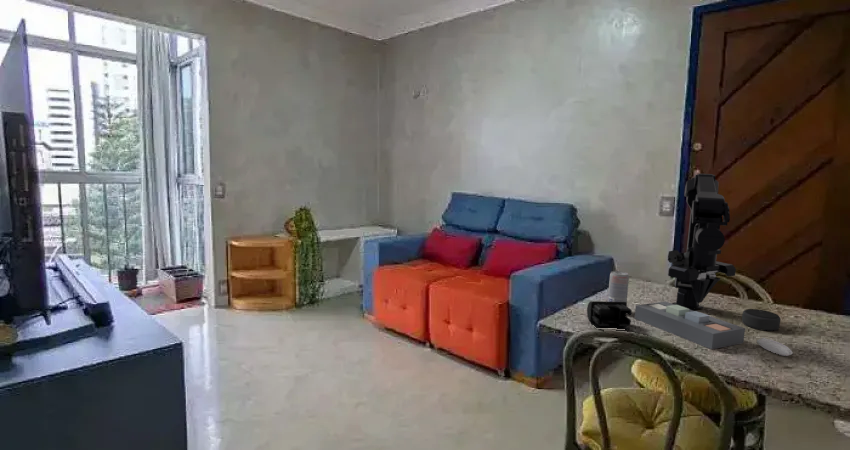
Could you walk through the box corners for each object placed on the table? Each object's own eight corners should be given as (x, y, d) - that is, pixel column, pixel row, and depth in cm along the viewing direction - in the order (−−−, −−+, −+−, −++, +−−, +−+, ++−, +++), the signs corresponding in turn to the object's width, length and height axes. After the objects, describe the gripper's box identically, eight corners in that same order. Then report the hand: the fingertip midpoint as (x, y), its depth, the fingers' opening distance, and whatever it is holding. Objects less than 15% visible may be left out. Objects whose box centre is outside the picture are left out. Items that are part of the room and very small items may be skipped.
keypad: (663, 314, 145) (665, 301, 144) (743, 343, 123) (745, 328, 122) (634, 318, 140) (635, 305, 139) (711, 349, 118) (713, 333, 118)
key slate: (694, 319, 131) (695, 311, 131) (708, 324, 127) (709, 315, 127) (684, 321, 129) (685, 312, 129) (698, 326, 126) (699, 317, 125)
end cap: (620, 321, 137) (622, 298, 136) (631, 330, 130) (633, 306, 129) (585, 321, 137) (587, 298, 136) (595, 330, 130) (597, 306, 129)
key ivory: (657, 311, 142) (658, 303, 142) (669, 316, 138) (670, 307, 138) (647, 313, 140) (648, 305, 140) (659, 317, 137) (660, 309, 136)
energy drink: (622, 309, 149) (626, 271, 147) (628, 314, 143) (631, 275, 142) (604, 308, 149) (608, 270, 148) (609, 313, 144) (613, 274, 142)
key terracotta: (715, 332, 126) (716, 323, 125) (729, 338, 122) (730, 328, 122) (704, 334, 124) (705, 325, 124) (719, 340, 121) (720, 330, 120)
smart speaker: (776, 324, 138) (778, 311, 138) (781, 334, 131) (783, 320, 130) (739, 319, 142) (741, 306, 142) (743, 328, 135) (744, 314, 134)
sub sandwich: (785, 359, 114) (786, 348, 113) (754, 346, 121) (755, 335, 121) (795, 358, 115) (796, 347, 114) (763, 345, 122) (765, 334, 122)
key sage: (675, 313, 136) (676, 304, 136) (688, 317, 133) (689, 308, 132) (665, 314, 135) (666, 306, 134) (678, 319, 131) (679, 310, 131)
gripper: (701, 238, 136) (695, 291, 139) (653, 241, 129) (648, 297, 131) (740, 245, 126) (733, 302, 129) (690, 248, 119) (684, 309, 121)
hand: (698, 302), depth 128 cm, fingers closed
